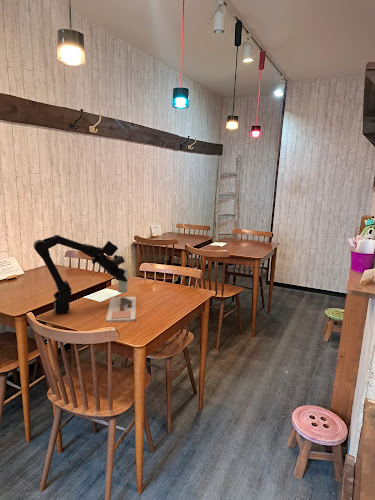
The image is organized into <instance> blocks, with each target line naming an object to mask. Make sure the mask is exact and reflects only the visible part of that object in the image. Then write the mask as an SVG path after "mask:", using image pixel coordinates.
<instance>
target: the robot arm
mask: <svg viewBox="0 0 375 500" xmlns="http://www.w3.org/2000/svg"><path fill="white" fill-rule="evenodd" d="M57 245H61V246H64V247H67V248H70V249H73V250H76V251H78V252H81V253H82V254H85V255H86V256H88V257H90V258H91V264H93V265H96V263H97V265H99V266H100V267H101V268H102V269H103V270H105V272H106V273H107V274H108V275H110V276H111V277H112V278H114V279H115V280H116V281H118V280H121V281H124V282H127V279H126V278H125V276H124V275H123V274H124V273H125V271H124V270H123V269H124V268H122V267H120V266H119V265H122V264H124V263H125V262H126V261H125V259H124V256H122V255H117V254H116V252H117V251H118V250H119V248H118V246H117V245H115V244H114V243H113V242H111V241H110V240H108V241H107V242H106V243H105V244H104V245H103V247H99V246H98V247H97V246H95V245H92V244H87V243H82V242H81V243H80V242H78V241H75V240H71V239H70V238H67V237H64V236H61V235H59V234H55V235H53V236H50V237H47V238H44V239H42V240H41V239H38V240H36V241H35V242H33V245H32V246H33V249H34V250H35V251H36V253H37V254H38V255H39V257H40V258H41V259H42V260H43V262H44V264H45V267H46V268H47V269H48V271H49V273H50V275H51V277H52V279H53V281H54V283H55V286H56V290H57V291H56V292H55V293H54V294H53V298H54V300H53V308H54V309H53V312H54V311H55V312H56V313H58V314H59V315H61V314H60V313H64V314H67V313H66V312H68V311H69V312H70V302H69V298H70V297H72V294H73V293H72V291H73V288H71V286H70V283H69V281H68V280H63V278H62V276H61V274H60V272H59V271H58V269H57V267H56V265H55V263H54V260H53V259H52V257H51V253H50V249H52V248H53V247H55V246H57ZM109 257H113V259H111V258H109ZM55 312H54V313H55ZM56 313H55V314H56Z"/></svg>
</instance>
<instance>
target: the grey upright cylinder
mask: <svg viewBox="0 0 375 500" xmlns="http://www.w3.org/2000/svg"><path fill="white" fill-rule="evenodd" d="M122 269H123V270H124V271H125V273H124V274H123V275H124V276H125V278H126V279H127V282H124V281H121V280H117V287H118V288H117V289H118V290H117V292H118V293H120V294H124V293H128V291H129V290H128V289H129V288H128V286H129V285H128V284H129V283H128V282H129V281H128V280H129V279H128V277H129V275H128V268H122Z"/></svg>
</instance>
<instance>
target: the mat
mask: <svg viewBox="0 0 375 500" xmlns="http://www.w3.org/2000/svg"><path fill="white" fill-rule="evenodd" d="M130 313H131V311H113V312H112V317H111V319H120V318H130Z"/></svg>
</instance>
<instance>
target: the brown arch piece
mask: <svg viewBox="0 0 375 500" xmlns="http://www.w3.org/2000/svg"><path fill="white" fill-rule="evenodd" d="M122 297H123V298H121V304H120V311H124V305H127V304H128V307H129V308H130V307H132V301H131V300H129V299H126V298H124V297H125V296H122ZM125 301H126V302H125Z"/></svg>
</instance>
